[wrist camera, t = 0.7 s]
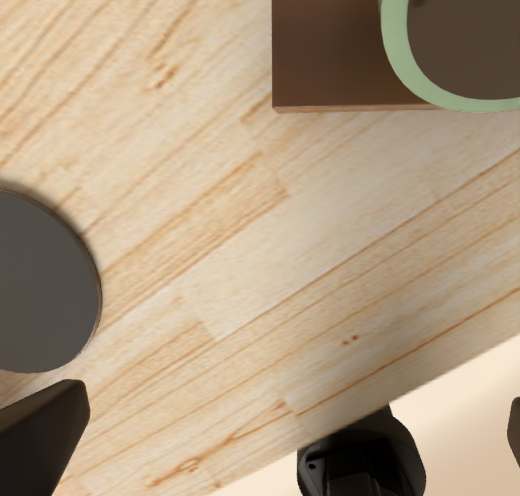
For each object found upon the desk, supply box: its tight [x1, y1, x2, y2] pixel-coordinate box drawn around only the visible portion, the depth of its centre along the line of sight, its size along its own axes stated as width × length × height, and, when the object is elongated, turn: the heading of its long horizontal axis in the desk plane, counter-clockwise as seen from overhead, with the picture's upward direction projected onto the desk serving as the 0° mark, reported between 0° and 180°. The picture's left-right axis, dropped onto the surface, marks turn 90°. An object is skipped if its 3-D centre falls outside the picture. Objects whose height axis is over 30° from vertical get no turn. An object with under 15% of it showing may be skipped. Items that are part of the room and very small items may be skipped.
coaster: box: [0, 189, 102, 373], centre depth 22 cm, size 12×12×1 cm
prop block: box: [272, 0, 446, 113], centre depth 15 cm, size 4×12×3 cm, turn 91°
